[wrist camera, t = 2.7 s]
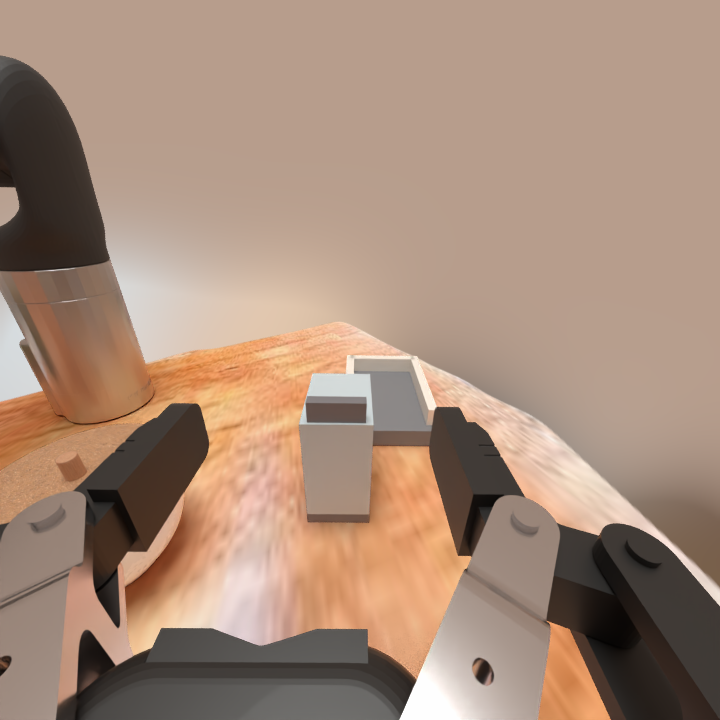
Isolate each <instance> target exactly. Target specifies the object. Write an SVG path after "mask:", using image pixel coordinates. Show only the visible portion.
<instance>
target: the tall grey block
mask: <svg viewBox="0 0 720 720" xmlns="http://www.w3.org/2000/svg"><path fill="white" fill-rule="evenodd" d="M373 427H374V424H373V410H372V395H371V381H370V374H324V373H313V375H312V378H311V382H310V386H309V389H308V393H307V397H306V400H305V404H304V408H303V411H302V415H301V419H300V422H299V431H300V442H301V453H302V464H303V475H304V486H305V497H306V508H307V519H308V522H355V523H369V512H370V491H371V470H372V449H373Z"/></svg>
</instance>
